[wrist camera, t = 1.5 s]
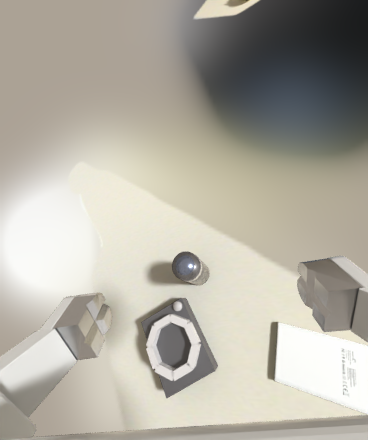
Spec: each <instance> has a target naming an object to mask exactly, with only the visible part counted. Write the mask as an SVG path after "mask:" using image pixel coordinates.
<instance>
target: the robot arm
mask: <svg viewBox="0 0 368 440" xmlns="http://www.w3.org/2000/svg"><path fill="white" fill-rule="evenodd" d="M298 272H299V274H300V275H301V276H300V278H299V279H298V280H297V287H298V291H299V294H300V296H301V299H302V300H303V302H304V303H305V305H306V306H308V307H310V308H311V309H313V317H314V318H315V320H316V321H317V323H318V324H319V326H320V327H321V329H322V330H323V331H324V332H331V331H343V330H351V331H352V332H353V333H355V334H356V335H358V336H359V337H361V338H362V339H364V340H365V341H367V342H368V274H367V273H365V272H364V271H363V270H362V269H360V268H359V267H358V266H356V265H355V264H354V263H353V262H351V261H350V260H349V259H348V258H346V257H344V256H336V257H330V258H327V259H320V260H314V261H307V262H300V263H299V264H298ZM104 301H105V298H104V296H103V294H102V293H91V294H84V295H78V296H70V297H66V298H64V299H63V300H62V301H61V303H60V304H59V305H58V307H57V308H56V309H55V310H54V312H53V313H52V314H51V316H50V317H49V318H48V320H47V321H46V322H45V323H44V325H43V326H42V327H41V329H40V330H39V331H35V332H34V333H32V334H31V335H29V336H28V337H27V338H25V339H24V340H23V341H21V342H20V343H18V344H17V345H16V346H14V347H13V348H12V349H10V350H9V351H7V352H6V353H5V354H3V355H2V356H1V357H0V440H368V415H358V416H343V417H328V418H312V419H297V420H282V421H267V422H252V423H236V424H221V425H206V426H191V427H176V428H161V429H145V430H130V431H117V432H116V431H115V432H101V433H85V434H70V435H56V436H41V437H33V436H34V434H35V431H36V425H35V424H34V423H33V422H32V421H30V419H29V418H28V417H29V416H30V415H31V414H32V412H33V411H34V410H35V409H36V408H37V407H38V406H39V405H40V404H41V402H42V401H43V400H44V399H45V397H47V395H48V394H49V393H50V392H51V391H52V390H53V389H54V387H55V386H56V385H57V384H58V383H59V382H60V381H61V379H62V378H63V377H64V376H65V375H66V374H67V373H68V371H69V370H70V369H71V368H72V367H73V365H75V363H76V362H77V360H82V359H89V358H95V357H98V355H99V352H100V350H101V347H102V345H103V343H104V337H103V335H104V334H105V333H106V332H107V331H108V330H109V328H110V326H111V321H112V313H111V310H110V308H109V306H107V305H106V304H104Z"/></svg>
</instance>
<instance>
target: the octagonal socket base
mask: <svg viewBox="0 0 368 440" xmlns="http://www.w3.org/2000/svg"><path fill="white" fill-rule="evenodd" d="M141 323H142V326H143V329H144V332H145V335H146V338H147V344H146V346H148V348H146V350H147V353H148V356H149V359H150V362H151V365H152V369H155V372H156V373H158V374H159V377H160V380H161V383H162V386H163V389H164V392H165V395H166V398H168V397H170V396H172V395H174V394H175V393H177V392H179V391H181V390H182V389H184V388H186V387H188V386H189V385H191V384H193V383H195V382H196V381H198V380H200V379H201V378H203V377H205V376H207V375H208V374H210V373H212V372H214V371H215V370H216V368H217V367H218V365H217V362H216V360H215V358H214V356H213V354H212V352H211V350H210V348H209V346H208V343H207V341H206V339H205V337H204V335H203V333H202V331H201V329H200V327H199V324H198V322H197V320H196V318H195V316H194V314H193V312H192V310H191V307H190V305H189V303H188V301H187V299H186V298H180V299H179V300H177V301H175V302H174V303H172V304H170V305H169V306H167V307H166V308H164V309H162V310H161V311H159V312H157V313H156V314H154V315H152V316H151V317H149V318H147V319H146V320H144V321H142V322H141Z"/></svg>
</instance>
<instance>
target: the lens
mask: <svg viewBox="0 0 368 440" xmlns="http://www.w3.org/2000/svg"><path fill="white" fill-rule="evenodd" d="M172 270H173V273H174V274H175V276H176V277H178V278H179V279H181V280H183V281H186V282H190V283H192V284H195V285H202V284H204V283H205V282H206V281H207V280H208V278H209V269H208V267H207V266H206V265H205V264H204V263H203V262H202V261H201V260H200V259H199V258H198V257H197V256H196V255H194V254H193V253H191V252H182V253H179V254H178V255H177V256H176V257H175V258H174V260H173V263H172Z"/></svg>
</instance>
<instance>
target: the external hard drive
mask: <svg viewBox="0 0 368 440" xmlns="http://www.w3.org/2000/svg"><path fill="white" fill-rule="evenodd" d="M274 380H275V381H276V382H279V383H282V384H284V385H287V386H290V387H293V388H295V389H298V390H301V391H304V392H306V393H309V394H312V395H315V396H318V397H320V398H323V399H326V400H329V401H331V402H334V403H337V404H340V405H343V406H345V407H348V408H351V409H354V410H356V411H359V412H362V413H365V414H368V345H364V344H360V343H357V342H353V341H349V340H345V339H341V338H338V337H334V336H330V335H326V334H322V333H319V332H315V331H311V330H307V329H303V328H299V327H296V326H292V325H288V324H284V323H280V322H278V323H277V340H276V356H275V372H274Z"/></svg>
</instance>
